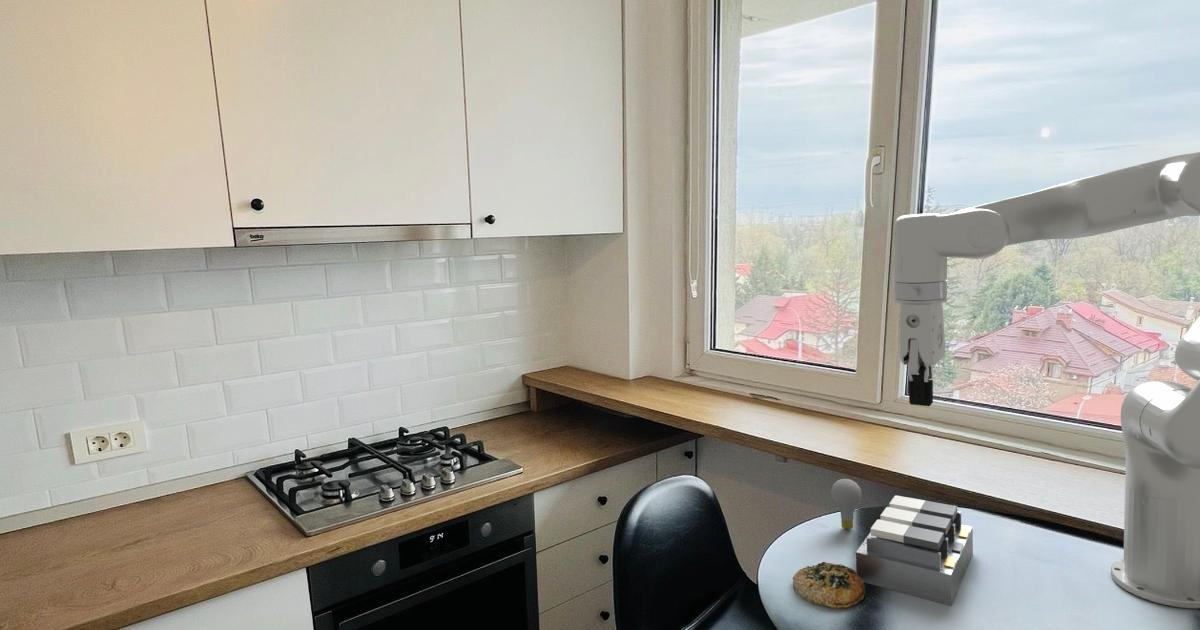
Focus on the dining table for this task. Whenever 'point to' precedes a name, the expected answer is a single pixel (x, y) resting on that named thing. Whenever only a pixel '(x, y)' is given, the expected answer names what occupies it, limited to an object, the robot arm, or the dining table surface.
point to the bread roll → (829, 585)
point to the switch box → (918, 564)
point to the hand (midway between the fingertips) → (921, 403)
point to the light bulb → (846, 500)
